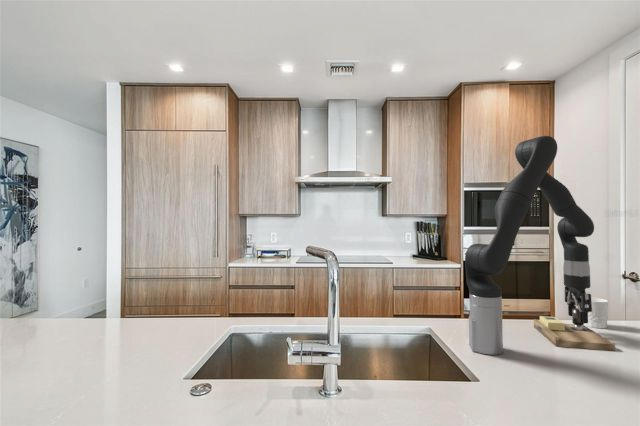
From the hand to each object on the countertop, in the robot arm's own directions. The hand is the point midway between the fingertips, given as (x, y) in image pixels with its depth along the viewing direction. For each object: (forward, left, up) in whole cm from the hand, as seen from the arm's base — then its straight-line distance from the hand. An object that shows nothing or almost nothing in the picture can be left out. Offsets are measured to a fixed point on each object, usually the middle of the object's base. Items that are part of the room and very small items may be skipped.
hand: (577, 319), depth 119 cm
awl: (0, 0, -5) cm, 5 cm away
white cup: (+11, +13, -6) cm, 18 cm away
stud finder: (-8, 0, -3) cm, 9 cm away
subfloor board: (-4, -4, -5) cm, 8 cm away
